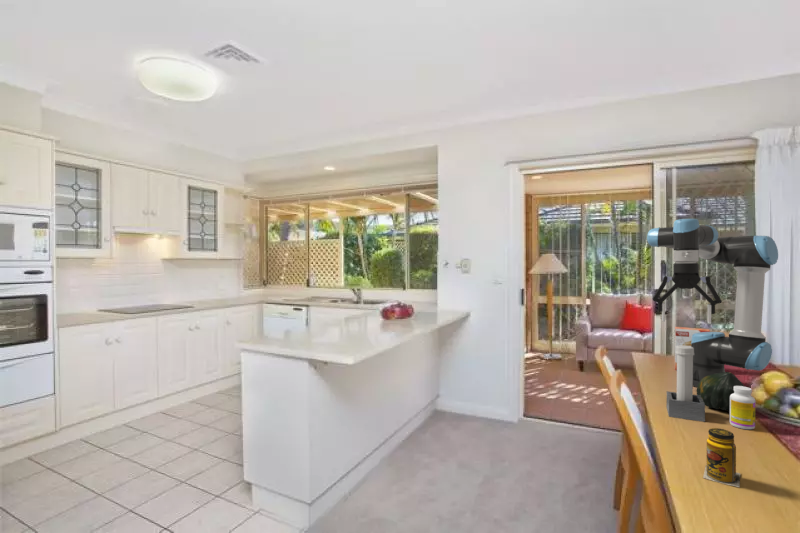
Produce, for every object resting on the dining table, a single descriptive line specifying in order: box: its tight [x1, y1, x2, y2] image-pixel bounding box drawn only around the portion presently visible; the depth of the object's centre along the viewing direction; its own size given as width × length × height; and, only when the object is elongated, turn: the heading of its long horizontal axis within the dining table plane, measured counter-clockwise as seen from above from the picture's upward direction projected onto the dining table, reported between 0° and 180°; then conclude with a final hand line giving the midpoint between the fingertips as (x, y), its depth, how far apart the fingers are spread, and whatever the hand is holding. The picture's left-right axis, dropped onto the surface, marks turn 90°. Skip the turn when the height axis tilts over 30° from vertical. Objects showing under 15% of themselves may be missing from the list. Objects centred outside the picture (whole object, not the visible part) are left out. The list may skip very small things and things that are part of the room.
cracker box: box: [674, 326, 711, 371], centre depth 206 cm, size 14×6×21 cm, turn 58°
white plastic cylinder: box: [674, 330, 694, 402], centre depth 151 cm, size 6×6×30 cm
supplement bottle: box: [729, 385, 756, 431], centre depth 140 cm, size 7×7×13 cm
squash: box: [696, 371, 746, 413], centre depth 156 cm, size 14×15×15 cm
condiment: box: [702, 427, 741, 488], centre depth 109 cm, size 7×8×12 cm
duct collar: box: [666, 391, 706, 422], centre depth 151 cm, size 10×10×6 cm
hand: (685, 322), depth 150 cm, fingers open, 13 cm apart
